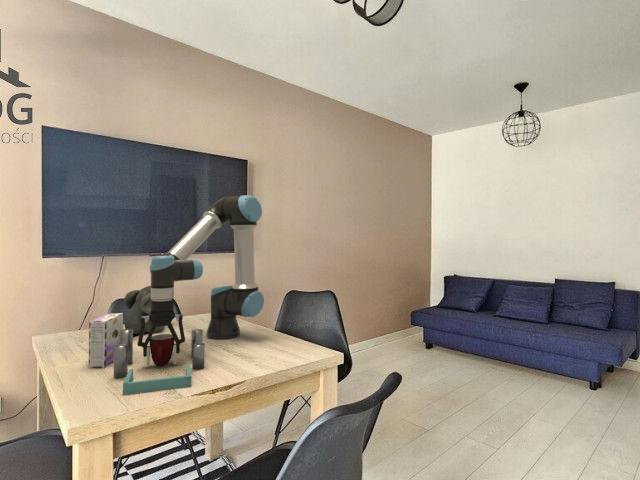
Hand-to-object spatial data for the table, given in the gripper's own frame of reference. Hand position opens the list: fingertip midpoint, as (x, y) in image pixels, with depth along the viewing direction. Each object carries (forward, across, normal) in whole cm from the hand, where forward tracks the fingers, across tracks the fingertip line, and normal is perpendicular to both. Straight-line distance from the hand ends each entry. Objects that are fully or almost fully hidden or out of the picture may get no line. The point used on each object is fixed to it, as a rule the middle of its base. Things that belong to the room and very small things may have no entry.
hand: (161, 363), depth 128 cm
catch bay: (+1, 0, +16) cm, 16 cm away
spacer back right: (+1, +12, -7) cm, 14 cm away
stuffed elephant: (+1, +10, -56) cm, 57 cm away
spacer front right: (+1, +12, +6) cm, 13 cm away
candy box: (+1, +19, -12) cm, 22 cm away
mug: (+1, 0, 0) cm, 1 cm away
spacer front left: (+1, -12, +6) cm, 13 cm away
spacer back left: (+1, -12, -7) cm, 14 cm away
